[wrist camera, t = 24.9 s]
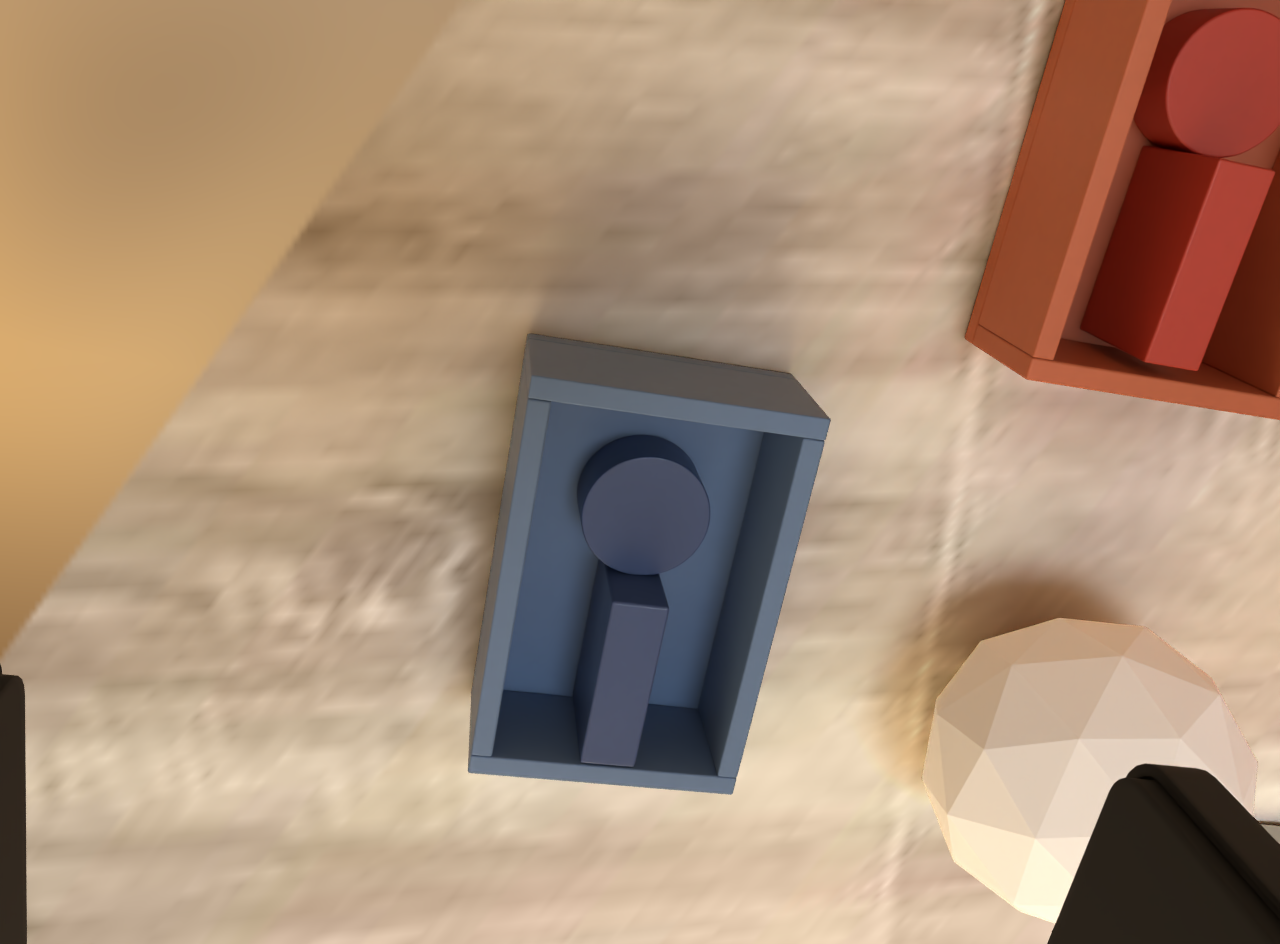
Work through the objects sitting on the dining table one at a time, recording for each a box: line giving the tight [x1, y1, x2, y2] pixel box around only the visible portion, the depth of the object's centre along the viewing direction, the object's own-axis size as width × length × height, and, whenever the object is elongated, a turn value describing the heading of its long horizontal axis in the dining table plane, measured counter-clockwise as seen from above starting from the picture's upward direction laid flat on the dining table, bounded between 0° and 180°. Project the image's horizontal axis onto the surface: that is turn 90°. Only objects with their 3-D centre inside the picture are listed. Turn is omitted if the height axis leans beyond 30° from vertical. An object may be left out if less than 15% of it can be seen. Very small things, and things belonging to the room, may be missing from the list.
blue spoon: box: [573, 435, 710, 767], centre depth 31 cm, size 9×4×4 cm, turn 169°
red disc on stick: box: [1080, 8, 1280, 371], centre depth 29 cm, size 9×4×4 cm, turn 168°
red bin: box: [965, 0, 1280, 420], centre depth 29 cm, size 12×8×4 cm, turn 169°
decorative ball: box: [922, 618, 1258, 924], centre depth 34 cm, size 9×10×12 cm
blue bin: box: [468, 334, 830, 795], centre depth 31 cm, size 12×8×4 cm, turn 169°
